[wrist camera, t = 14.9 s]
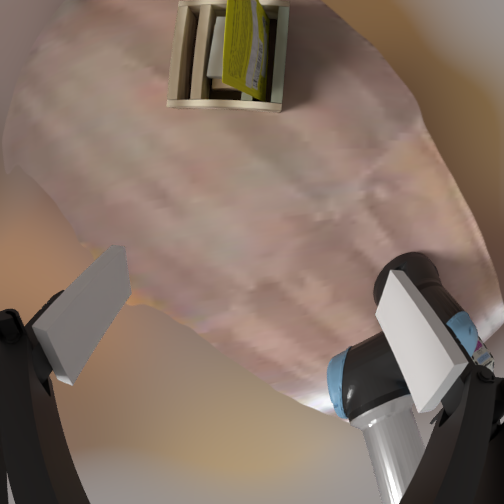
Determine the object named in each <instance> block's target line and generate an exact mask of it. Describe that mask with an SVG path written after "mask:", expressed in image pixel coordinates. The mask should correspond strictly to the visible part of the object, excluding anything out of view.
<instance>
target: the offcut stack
mask: <svg viewBox="0 0 504 504" xmlns="http://www.w3.org/2000/svg"><path fill="white" fill-rule="evenodd" d="M225 19H226V17H217V19H216V24H215V25H214V34H213V40H212V46H211V52H210V58H209V64H208V70H207V76H208V77H209V78H213V80H212V90H213V91H232V92H241V91H240V90H238V89H236V88H234V87H231V86H229V85H226V84H224V83H222V74H223V72H222V71H223V48H224V33H225Z"/></svg>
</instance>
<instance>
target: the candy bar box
mask: <svg viewBox="0 0 504 504" xmlns="http://www.w3.org/2000/svg"><path fill="white" fill-rule="evenodd" d="M471 358H472V360H473V361H474V363H475V365H483V366H486V367H487V368H489V369H490V370H491V371H492V372H493V371H494V358H493V356H492V355H491V353H490V352H489V350H488V349H487V348H486V346H485V345H484V343H483V342H482V340H481V339H480V337H479V336H478V341H477V346H476V349H475V351H474V353H473V355H472V357H471Z"/></svg>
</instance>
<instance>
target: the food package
mask: <svg viewBox="0 0 504 504" xmlns="http://www.w3.org/2000/svg"><path fill="white" fill-rule="evenodd" d="M269 23H270V20H269V18H268V16H267V14H266V13H265V11H264V9H263V7H262V6H261V4H260V2H259V0H227V8H226V19H225V33H224V48H223V71H222V72H223V74H222V83H224V84H226V85H229V86H231V87H234V88H236V89H238V90H240V91H242V92H244V93H246V94H248V95H250V96H252V97H254V98H256V99H258V100H260V101H262V102H265V101H266V84H267V68H268V48H269Z"/></svg>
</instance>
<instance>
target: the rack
mask: <svg viewBox="0 0 504 504" xmlns="http://www.w3.org/2000/svg"><path fill="white" fill-rule="evenodd" d="M259 2H260V4H261V6H262V7H263V9H264V11H265V13H266V14H267V16H268V18H269V19H277V30H276V42H275V54H274V66H273V78H272V90H271V101H270V103H268V102H255V101H254V97H252V96H250V95H248V94H246V93H244V92H242V95H241V100H242V101H239V100H209V92H210V81H211V78H209V77H208V76H207V70H208V64H209V58H210V52H211V46H212V40H213V34H214V25H215V24H216V19H217V17H226V8H227V0H189V1H179V5H178V11H177V17H176V23H175V30H174V37H173V45H172V53H171V62H170V71H169V82H168V94H167V107H170V108H176V109H229V110H248V111H262V112H273V113H280V111H281V107H282V96H283V84H284V72H285V60H286V47H287V34H288V21H289V6H290V2H288V1H278V0H259ZM197 18H199V21H198V29H197V36H196V45H195V53H194V63H193V73H192V84H191V96H190V99H192V100H188V93H189V81H190V70H191V60H192V51H193V42H194V34H195V27H196V20H197Z"/></svg>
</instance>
